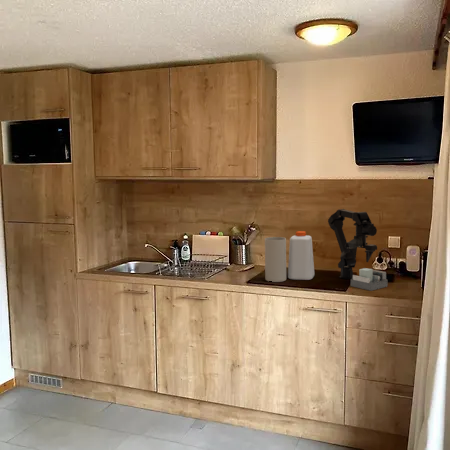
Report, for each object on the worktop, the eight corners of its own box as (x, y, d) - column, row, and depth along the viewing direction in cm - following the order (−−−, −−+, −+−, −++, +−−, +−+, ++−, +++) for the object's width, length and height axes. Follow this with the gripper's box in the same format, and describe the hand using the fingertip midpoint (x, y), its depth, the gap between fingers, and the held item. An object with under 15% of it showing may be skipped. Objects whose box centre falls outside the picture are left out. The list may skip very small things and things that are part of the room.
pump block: (359, 279, 277) (359, 269, 277) (365, 278, 280) (365, 268, 279) (366, 281, 273) (366, 270, 272) (372, 280, 276) (372, 269, 275)
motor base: (350, 286, 280) (350, 272, 279) (366, 282, 288) (366, 268, 287) (371, 290, 269) (371, 276, 268) (387, 286, 277) (387, 272, 276)
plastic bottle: (286, 279, 300) (286, 233, 296) (290, 274, 314) (290, 229, 311) (312, 280, 295) (311, 233, 292) (315, 275, 310) (315, 230, 306)
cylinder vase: (275, 276, 308) (274, 236, 305) (290, 279, 299) (290, 238, 296) (261, 280, 300) (260, 238, 297) (276, 283, 291) (275, 240, 288)
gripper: (338, 233, 288) (338, 260, 289) (365, 237, 273) (364, 265, 274) (351, 231, 294) (351, 258, 296) (378, 235, 279) (377, 262, 281)
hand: (360, 260), depth 287 cm, fingers open, 9 cm apart
